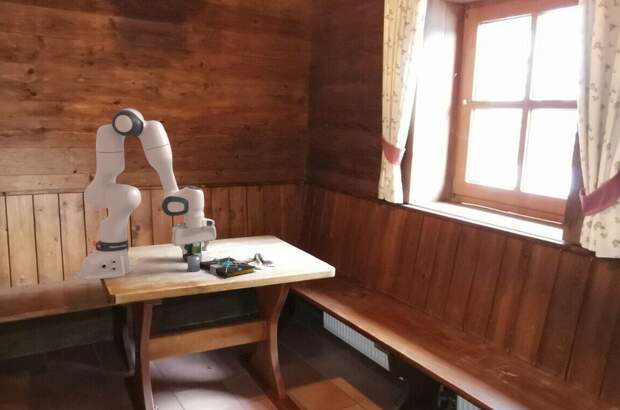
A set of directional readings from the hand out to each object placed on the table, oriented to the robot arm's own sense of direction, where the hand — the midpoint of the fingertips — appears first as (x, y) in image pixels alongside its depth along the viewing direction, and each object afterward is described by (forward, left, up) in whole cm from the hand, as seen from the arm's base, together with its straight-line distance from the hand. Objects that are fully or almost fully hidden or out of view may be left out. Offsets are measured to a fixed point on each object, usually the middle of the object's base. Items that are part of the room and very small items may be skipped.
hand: (194, 252), depth 233 cm
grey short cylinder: (0, 0, -9) cm, 9 cm away
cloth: (+32, -6, -9) cm, 34 cm away
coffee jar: (+7, +16, -9) cm, 20 cm away
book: (+13, -7, -9) cm, 17 cm away
